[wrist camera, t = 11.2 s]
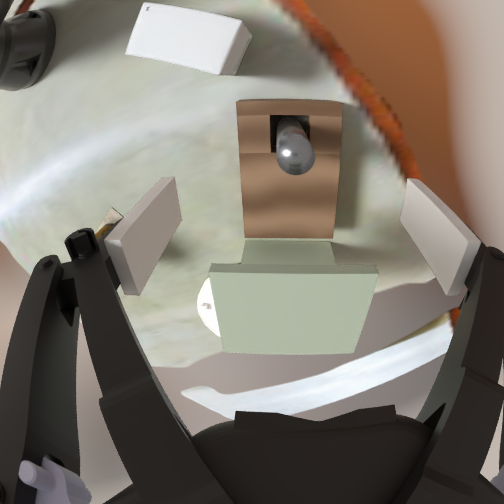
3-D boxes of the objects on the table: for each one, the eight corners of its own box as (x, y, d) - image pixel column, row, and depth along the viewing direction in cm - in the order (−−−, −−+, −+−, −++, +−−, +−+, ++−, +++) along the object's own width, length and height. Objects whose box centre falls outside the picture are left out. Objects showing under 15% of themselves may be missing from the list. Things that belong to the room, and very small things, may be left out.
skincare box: (161, 58, 29) (122, 55, 20) (177, 16, 25) (143, -1, 17) (235, 78, 30) (218, 77, 22) (254, 35, 27) (244, 17, 18)
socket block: (240, 99, 32) (236, 101, 29) (335, 100, 31) (342, 103, 27) (247, 223, 42) (244, 237, 39) (328, 224, 41) (332, 238, 38)
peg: (277, 141, 35) (276, 175, 23) (276, 117, 33) (276, 138, 21) (301, 141, 34) (314, 175, 23) (301, 117, 33) (315, 139, 21)
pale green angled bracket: (238, 185, 39) (208, 272, 23) (338, 186, 37) (379, 273, 22) (243, 251, 45) (223, 352, 29) (331, 252, 44) (353, 353, 28)
